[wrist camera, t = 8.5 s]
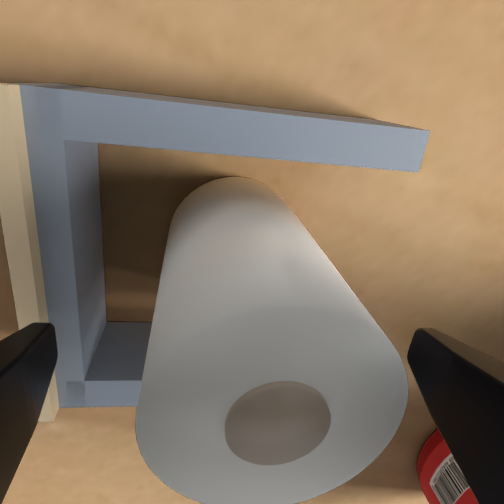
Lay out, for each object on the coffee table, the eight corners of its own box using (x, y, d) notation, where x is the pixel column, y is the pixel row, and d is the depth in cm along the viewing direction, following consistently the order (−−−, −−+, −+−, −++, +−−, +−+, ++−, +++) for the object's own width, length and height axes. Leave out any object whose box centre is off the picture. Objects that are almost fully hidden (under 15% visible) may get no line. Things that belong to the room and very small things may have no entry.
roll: (306, 182, 15) (448, 313, 6) (286, 297, 17) (374, 508, 8) (170, 171, 14) (131, 305, 5) (166, 293, 16) (135, 526, 8)
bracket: (377, 120, 14) (442, 133, 10) (324, 346, 18) (357, 414, 14) (45, 81, 12) (-22, 81, 8) (71, 344, 16) (34, 422, 12)
